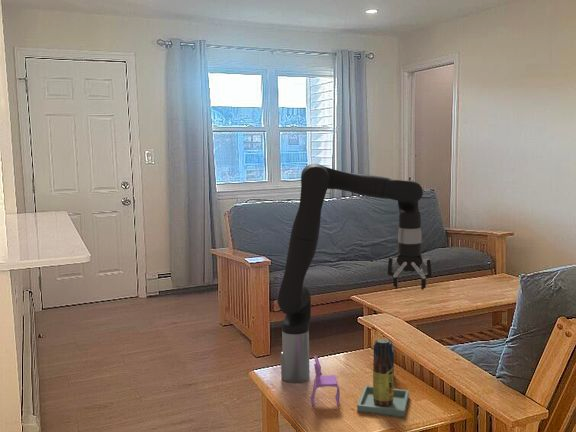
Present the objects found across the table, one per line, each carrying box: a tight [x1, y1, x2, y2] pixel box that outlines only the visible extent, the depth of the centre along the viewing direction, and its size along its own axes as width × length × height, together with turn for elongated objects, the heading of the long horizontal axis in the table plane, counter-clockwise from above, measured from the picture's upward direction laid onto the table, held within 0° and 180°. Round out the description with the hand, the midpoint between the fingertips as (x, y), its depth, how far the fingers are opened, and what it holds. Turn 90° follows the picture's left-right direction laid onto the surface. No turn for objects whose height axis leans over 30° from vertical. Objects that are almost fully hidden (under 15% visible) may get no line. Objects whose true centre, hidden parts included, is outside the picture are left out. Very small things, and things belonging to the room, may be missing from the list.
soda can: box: [373, 339, 395, 374], centre depth 190 cm, size 7×7×12 cm
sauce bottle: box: [372, 338, 395, 406], centre depth 168 cm, size 6×6×20 cm
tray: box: [356, 385, 410, 419], centre depth 169 cm, size 14×14×2 cm
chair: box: [310, 355, 341, 408], centre depth 171 cm, size 8×9×15 cm
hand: (409, 288), depth 182 cm, fingers open, 8 cm apart
